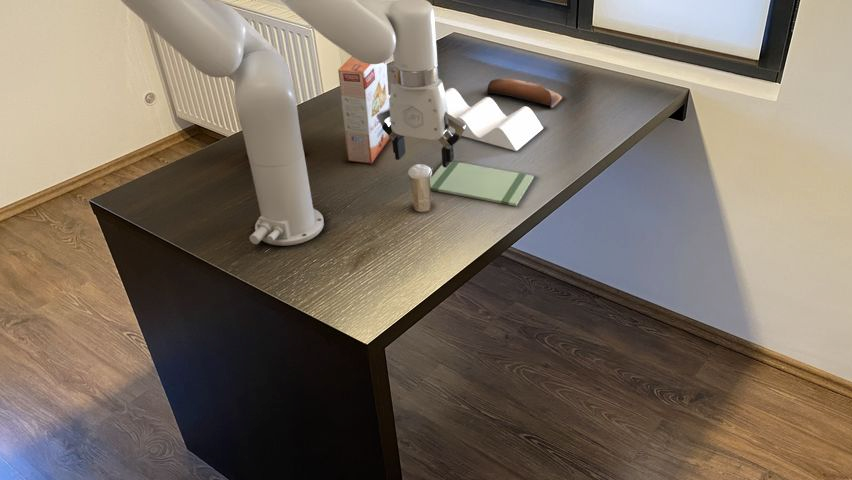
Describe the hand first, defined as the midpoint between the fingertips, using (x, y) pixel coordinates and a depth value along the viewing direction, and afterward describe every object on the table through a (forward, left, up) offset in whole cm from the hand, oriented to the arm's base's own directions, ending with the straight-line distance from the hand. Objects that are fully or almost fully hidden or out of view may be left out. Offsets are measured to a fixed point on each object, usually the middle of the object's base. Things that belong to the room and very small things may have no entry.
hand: (423, 160), depth 141 cm
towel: (+13, -7, -11) cm, 18 cm away
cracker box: (+19, +21, -11) cm, 30 cm away
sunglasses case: (+58, -3, -11) cm, 59 cm away
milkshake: (0, 0, -11) cm, 11 cm away
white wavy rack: (+39, +6, -11) cm, 41 cm away
